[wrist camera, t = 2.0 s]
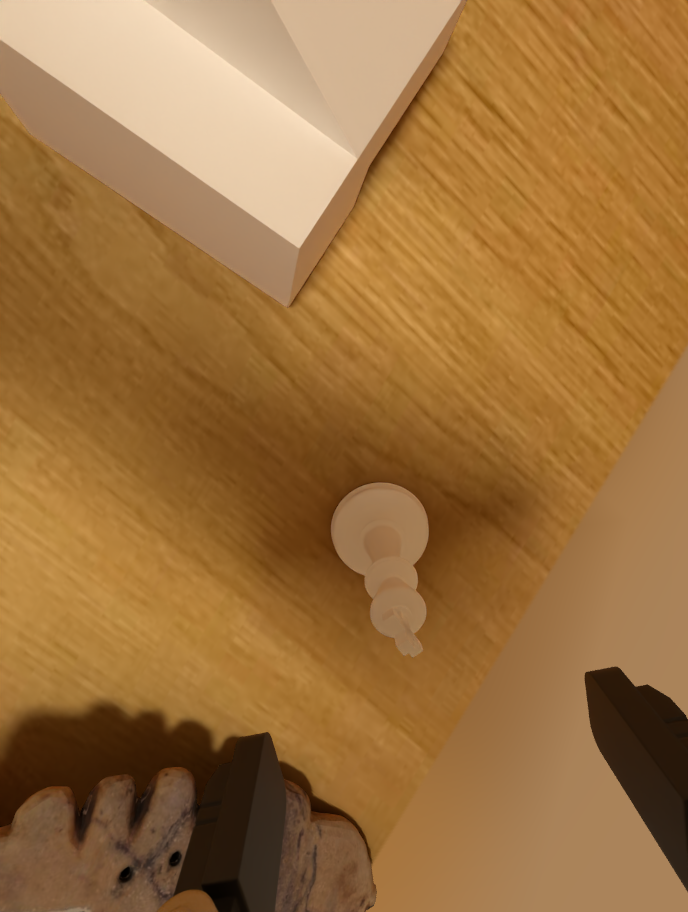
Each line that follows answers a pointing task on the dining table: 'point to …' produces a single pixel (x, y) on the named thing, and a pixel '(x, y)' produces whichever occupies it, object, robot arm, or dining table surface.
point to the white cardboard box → (225, 110)
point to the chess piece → (385, 555)
